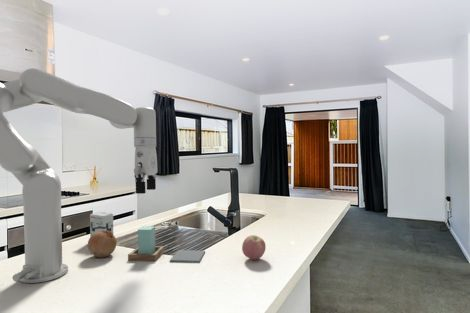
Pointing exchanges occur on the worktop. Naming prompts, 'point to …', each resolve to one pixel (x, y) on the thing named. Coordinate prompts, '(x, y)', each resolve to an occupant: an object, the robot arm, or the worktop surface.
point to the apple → (253, 247)
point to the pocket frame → (146, 255)
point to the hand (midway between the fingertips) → (146, 191)
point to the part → (146, 240)
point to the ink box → (101, 222)
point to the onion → (102, 244)
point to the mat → (187, 256)
